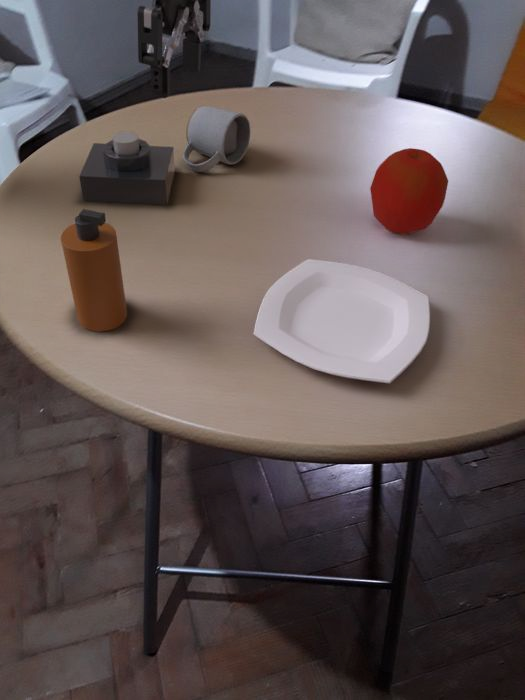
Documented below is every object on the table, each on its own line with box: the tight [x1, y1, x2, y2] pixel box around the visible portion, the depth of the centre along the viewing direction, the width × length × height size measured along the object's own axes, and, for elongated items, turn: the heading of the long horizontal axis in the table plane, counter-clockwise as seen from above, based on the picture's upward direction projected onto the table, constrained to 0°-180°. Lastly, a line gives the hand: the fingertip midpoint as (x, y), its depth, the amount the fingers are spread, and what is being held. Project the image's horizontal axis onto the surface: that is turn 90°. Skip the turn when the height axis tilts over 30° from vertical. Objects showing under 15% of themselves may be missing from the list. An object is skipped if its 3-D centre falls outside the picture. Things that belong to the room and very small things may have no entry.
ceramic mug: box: [182, 105, 252, 173], centre depth 98 cm, size 11×8×8 cm
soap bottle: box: [60, 208, 128, 333], centre depth 68 cm, size 6×6×14 cm
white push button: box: [112, 130, 140, 155], centre depth 89 cm, size 4×4×2 cm
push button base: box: [78, 138, 176, 206], centre depth 92 cm, size 12×10×6 cm
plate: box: [253, 258, 431, 384], centre depth 73 cm, size 19×19×2 cm
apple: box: [369, 147, 449, 235], centre depth 85 cm, size 10×10×12 cm
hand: (176, 82), depth 79 cm, fingers open, 8 cm apart
